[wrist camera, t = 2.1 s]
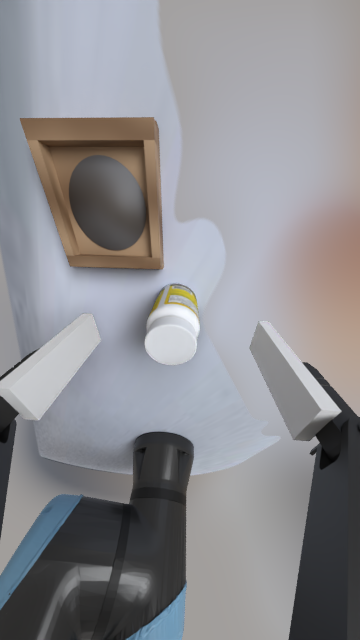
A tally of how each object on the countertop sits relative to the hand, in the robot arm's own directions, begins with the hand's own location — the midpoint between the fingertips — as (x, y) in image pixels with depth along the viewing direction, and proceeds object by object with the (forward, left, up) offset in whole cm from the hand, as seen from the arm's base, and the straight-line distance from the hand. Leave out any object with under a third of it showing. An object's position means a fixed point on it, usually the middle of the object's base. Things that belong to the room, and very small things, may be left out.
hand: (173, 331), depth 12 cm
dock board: (+9, +6, -7) cm, 13 cm away
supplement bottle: (0, 0, -7) cm, 7 cm away
